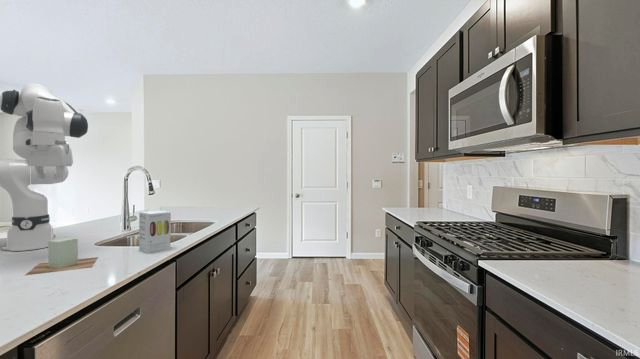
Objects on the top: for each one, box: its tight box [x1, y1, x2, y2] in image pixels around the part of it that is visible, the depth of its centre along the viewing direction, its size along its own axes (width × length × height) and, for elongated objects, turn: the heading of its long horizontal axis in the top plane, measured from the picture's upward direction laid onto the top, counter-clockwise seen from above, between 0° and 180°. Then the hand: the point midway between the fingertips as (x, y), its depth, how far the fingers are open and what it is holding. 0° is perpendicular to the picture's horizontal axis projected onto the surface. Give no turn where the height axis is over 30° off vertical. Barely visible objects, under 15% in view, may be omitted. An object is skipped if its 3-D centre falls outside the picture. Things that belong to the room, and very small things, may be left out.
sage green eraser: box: [47, 237, 79, 269], centre depth 104 cm, size 5×6×9 cm
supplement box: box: [138, 210, 172, 255], centre depth 129 cm, size 10×9×17 cm
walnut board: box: [25, 256, 99, 276], centre depth 104 cm, size 14×17×1 cm
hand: (49, 178), depth 111 cm, fingers open, 8 cm apart
